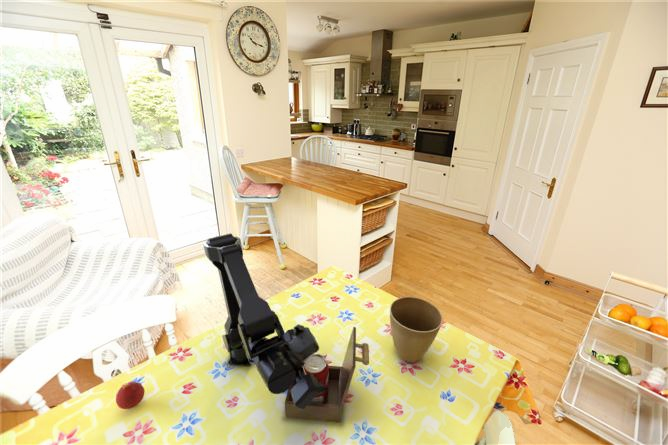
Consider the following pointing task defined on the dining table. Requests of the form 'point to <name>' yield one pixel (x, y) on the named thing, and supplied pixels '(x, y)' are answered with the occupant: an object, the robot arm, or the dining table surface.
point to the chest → (315, 410)
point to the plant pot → (413, 326)
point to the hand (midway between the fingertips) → (319, 374)
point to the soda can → (318, 374)
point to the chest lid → (351, 363)
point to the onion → (130, 395)
